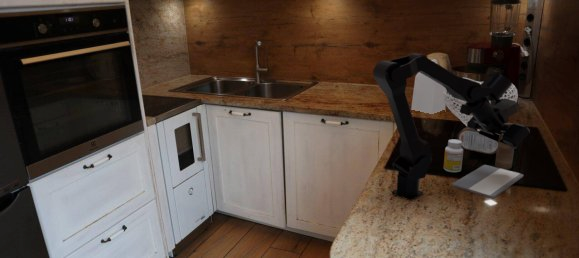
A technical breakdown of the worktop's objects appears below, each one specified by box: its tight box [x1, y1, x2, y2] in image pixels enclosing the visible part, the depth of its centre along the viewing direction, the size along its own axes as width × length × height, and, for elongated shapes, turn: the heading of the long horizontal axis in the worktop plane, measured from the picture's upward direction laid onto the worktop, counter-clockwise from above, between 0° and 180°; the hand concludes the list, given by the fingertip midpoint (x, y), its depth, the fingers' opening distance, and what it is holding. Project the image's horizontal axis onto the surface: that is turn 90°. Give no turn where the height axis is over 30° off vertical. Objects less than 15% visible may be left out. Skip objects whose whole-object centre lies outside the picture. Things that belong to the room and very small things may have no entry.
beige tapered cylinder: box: [494, 122, 515, 170], centre depth 125 cm, size 5×5×13 cm
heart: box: [443, 77, 519, 127], centre depth 172 cm, size 28×16×22 cm, turn 68°
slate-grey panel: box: [451, 164, 524, 199], centre depth 126 cm, size 22×12×1 cm, turn 132°
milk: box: [410, 59, 447, 114], centre depth 202 cm, size 12×12×26 cm
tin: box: [457, 126, 498, 155], centre depth 150 cm, size 15×3×8 cm, turn 47°
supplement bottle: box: [443, 138, 464, 173], centre depth 134 cm, size 5×5×10 cm
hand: (509, 145), depth 125 cm, fingers closed on beige tapered cylinder, 4 cm apart
